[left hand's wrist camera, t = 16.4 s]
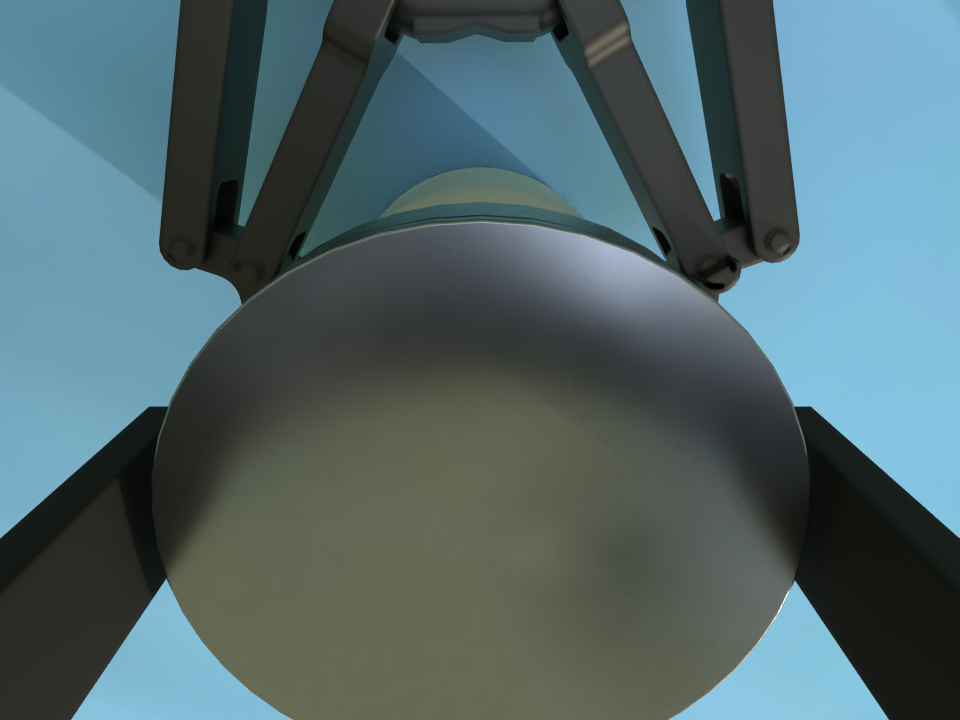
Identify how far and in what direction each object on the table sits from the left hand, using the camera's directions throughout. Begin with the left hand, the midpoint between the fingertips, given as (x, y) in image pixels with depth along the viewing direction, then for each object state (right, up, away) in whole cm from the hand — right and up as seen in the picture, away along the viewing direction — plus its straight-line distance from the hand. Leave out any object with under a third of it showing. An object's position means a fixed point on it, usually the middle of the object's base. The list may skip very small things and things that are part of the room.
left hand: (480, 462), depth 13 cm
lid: (0, -1, -2) cm, 2 cm away
